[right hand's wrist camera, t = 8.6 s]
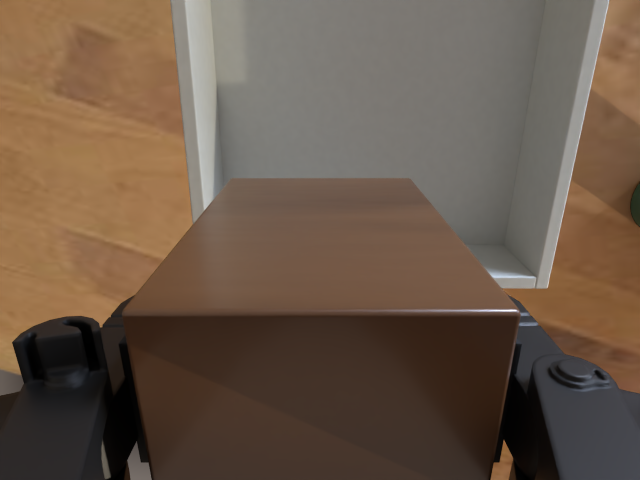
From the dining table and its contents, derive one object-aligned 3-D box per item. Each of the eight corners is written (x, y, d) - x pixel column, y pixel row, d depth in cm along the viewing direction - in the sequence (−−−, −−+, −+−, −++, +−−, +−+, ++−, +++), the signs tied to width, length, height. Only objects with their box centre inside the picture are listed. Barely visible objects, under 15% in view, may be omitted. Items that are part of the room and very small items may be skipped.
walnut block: (230, 177, 13) (118, 311, 6) (410, 177, 13) (524, 310, 6) (241, 333, 15) (168, 579, 8) (399, 333, 15) (474, 579, 8)
